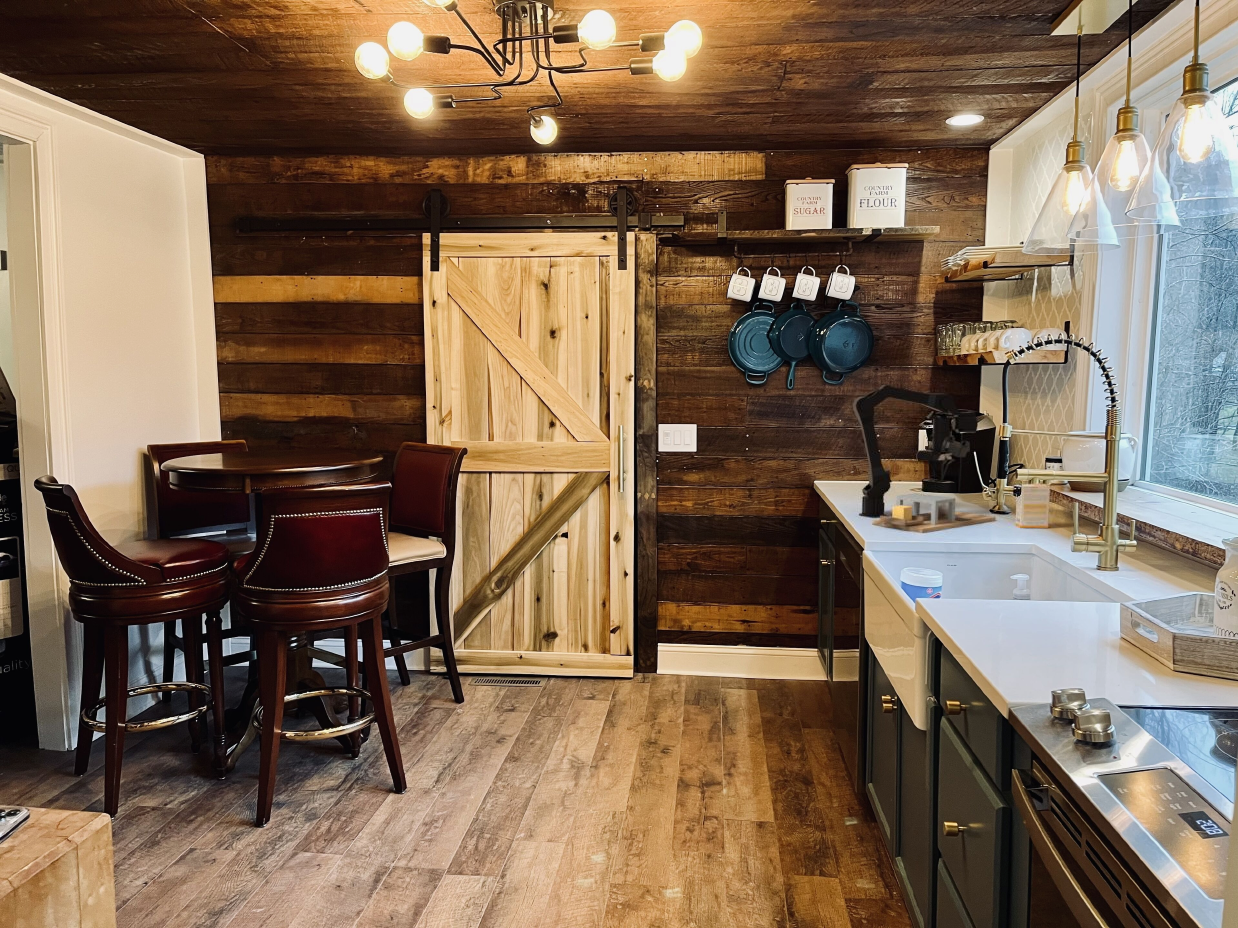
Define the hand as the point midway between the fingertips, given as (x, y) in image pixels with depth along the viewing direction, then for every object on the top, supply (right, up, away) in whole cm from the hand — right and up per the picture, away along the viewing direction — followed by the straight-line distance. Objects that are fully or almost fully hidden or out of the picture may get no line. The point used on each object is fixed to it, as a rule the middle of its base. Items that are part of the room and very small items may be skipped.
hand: (940, 480), depth 282 cm
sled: (-12, -12, -15) cm, 22 cm away
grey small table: (-10, -13, -13) cm, 21 cm away
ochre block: (-19, -12, -20) cm, 30 cm away
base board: (-6, -13, -10) cm, 17 cm away
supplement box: (+21, -14, -18) cm, 31 cm away
